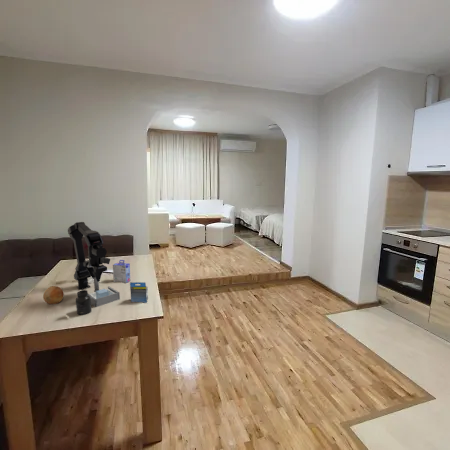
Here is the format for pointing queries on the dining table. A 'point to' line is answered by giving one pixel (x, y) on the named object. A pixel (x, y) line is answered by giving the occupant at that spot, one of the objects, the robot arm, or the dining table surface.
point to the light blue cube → (101, 293)
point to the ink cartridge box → (121, 272)
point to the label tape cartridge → (139, 292)
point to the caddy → (96, 287)
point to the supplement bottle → (83, 303)
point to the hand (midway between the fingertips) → (96, 280)
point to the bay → (105, 298)
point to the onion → (53, 295)
